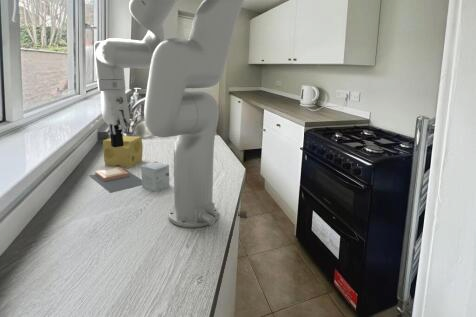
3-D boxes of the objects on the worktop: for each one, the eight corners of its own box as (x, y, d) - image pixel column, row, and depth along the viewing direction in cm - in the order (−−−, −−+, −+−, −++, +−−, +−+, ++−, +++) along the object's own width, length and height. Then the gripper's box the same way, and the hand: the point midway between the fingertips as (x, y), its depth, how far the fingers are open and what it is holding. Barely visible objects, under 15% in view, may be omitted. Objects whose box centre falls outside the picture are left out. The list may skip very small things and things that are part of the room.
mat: (148, 184, 97) (148, 183, 97) (110, 194, 89) (110, 192, 89) (124, 169, 109) (124, 168, 109) (88, 176, 101) (88, 175, 101)
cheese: (129, 169, 110) (127, 142, 107) (102, 166, 112) (100, 139, 109) (143, 161, 120) (142, 136, 117) (119, 158, 122) (117, 134, 119)
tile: (128, 172, 102) (118, 166, 107) (104, 177, 96) (94, 170, 102) (128, 176, 102) (118, 169, 108) (104, 181, 97) (95, 174, 102)
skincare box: (155, 192, 92) (154, 169, 89) (141, 187, 94) (140, 165, 92) (169, 186, 96) (169, 164, 94) (156, 182, 99) (155, 160, 97)
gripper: (135, 86, 87) (139, 148, 92) (114, 85, 98) (119, 140, 103) (108, 87, 82) (115, 152, 87) (89, 85, 93) (96, 144, 98)
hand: (117, 146), depth 95 cm, fingers closed
